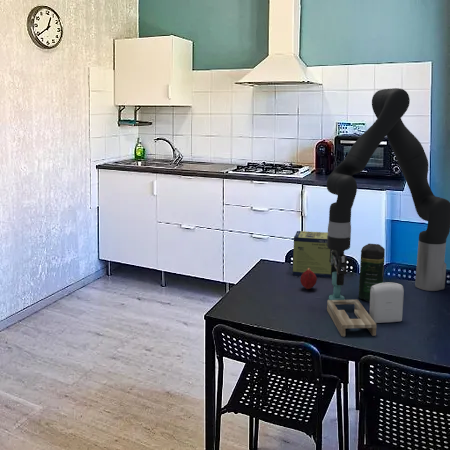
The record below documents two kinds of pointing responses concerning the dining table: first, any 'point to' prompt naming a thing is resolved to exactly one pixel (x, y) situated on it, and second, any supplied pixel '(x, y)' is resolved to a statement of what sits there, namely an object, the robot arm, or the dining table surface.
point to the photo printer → (386, 302)
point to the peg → (336, 289)
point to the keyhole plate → (345, 322)
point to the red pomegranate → (308, 279)
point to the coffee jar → (371, 269)
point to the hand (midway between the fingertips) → (336, 280)
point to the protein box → (311, 254)
